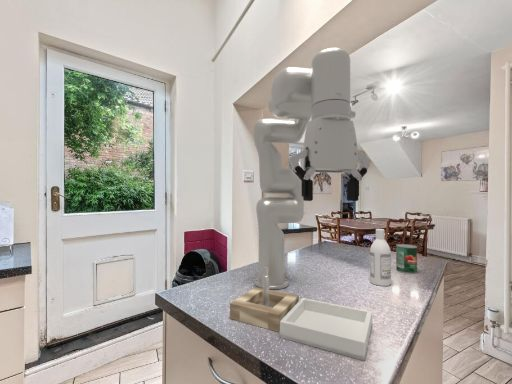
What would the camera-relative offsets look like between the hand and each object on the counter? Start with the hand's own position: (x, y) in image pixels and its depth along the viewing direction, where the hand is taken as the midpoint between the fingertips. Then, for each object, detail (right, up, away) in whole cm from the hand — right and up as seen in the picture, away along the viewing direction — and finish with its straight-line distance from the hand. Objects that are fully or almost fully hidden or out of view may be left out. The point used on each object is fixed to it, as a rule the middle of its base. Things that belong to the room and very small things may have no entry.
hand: (330, 200), depth 52 cm
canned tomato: (+50, -33, +60) cm, 85 cm away
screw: (-12, -32, +19) cm, 39 cm away
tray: (+2, -31, +10) cm, 33 cm away
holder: (-12, -32, +19) cm, 39 cm away
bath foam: (+31, -32, +45) cm, 63 cm away
